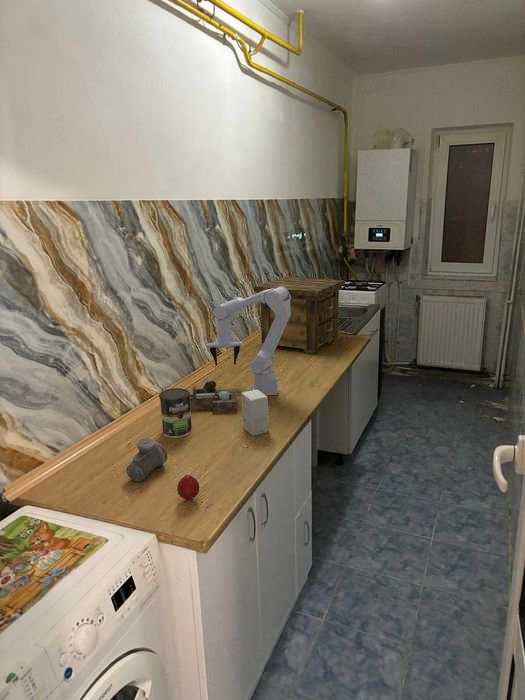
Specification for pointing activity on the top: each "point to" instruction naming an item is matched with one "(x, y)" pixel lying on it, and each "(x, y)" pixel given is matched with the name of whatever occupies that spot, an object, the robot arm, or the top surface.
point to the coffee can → (175, 412)
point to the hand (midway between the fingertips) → (225, 364)
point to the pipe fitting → (146, 459)
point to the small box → (255, 412)
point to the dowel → (224, 395)
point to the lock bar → (201, 396)
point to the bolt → (207, 388)
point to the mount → (215, 403)
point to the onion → (188, 487)
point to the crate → (305, 312)
